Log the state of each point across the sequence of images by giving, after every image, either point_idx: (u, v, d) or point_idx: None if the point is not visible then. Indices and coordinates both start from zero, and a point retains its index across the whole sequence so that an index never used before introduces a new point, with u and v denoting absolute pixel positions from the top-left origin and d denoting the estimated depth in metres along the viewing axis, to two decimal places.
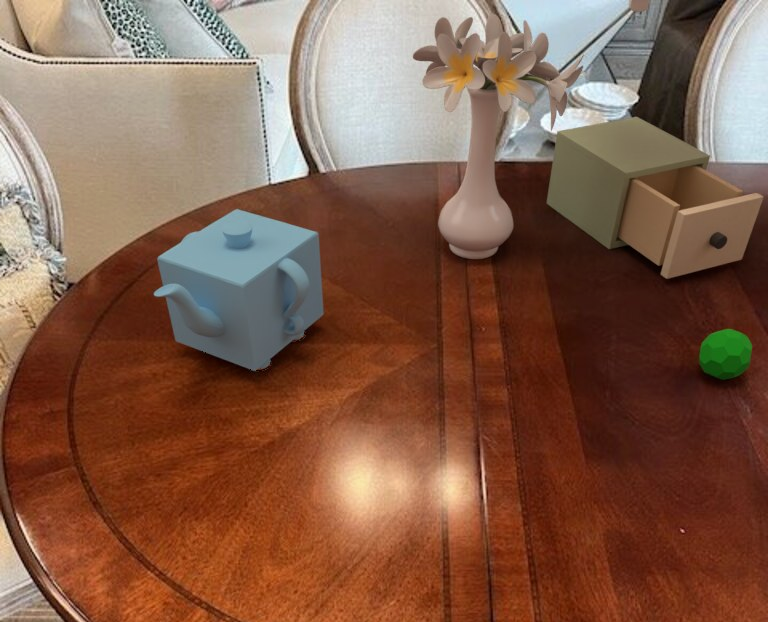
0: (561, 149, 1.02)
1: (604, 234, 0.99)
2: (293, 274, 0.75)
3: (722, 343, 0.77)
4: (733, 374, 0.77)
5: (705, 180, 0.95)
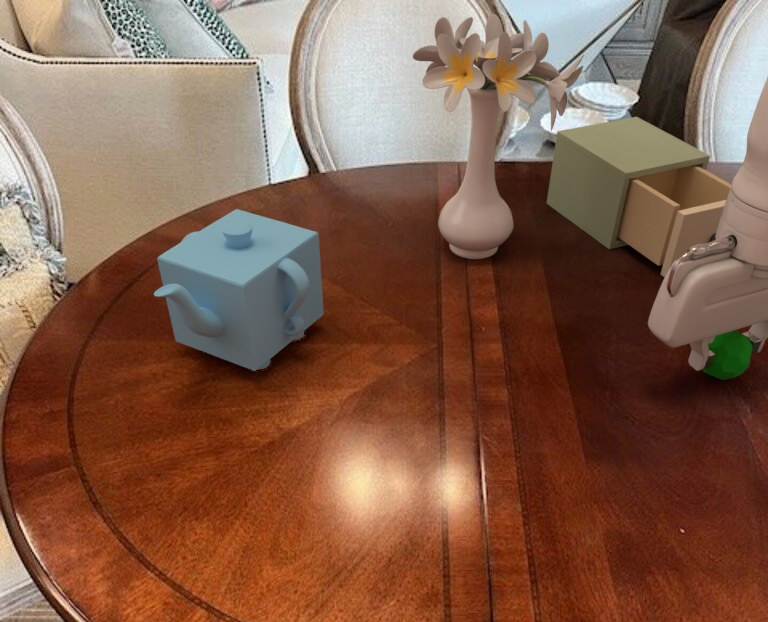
0: (561, 149, 1.02)
1: (604, 234, 0.99)
2: (293, 274, 0.75)
3: (722, 343, 0.77)
4: (733, 374, 0.77)
5: (705, 180, 0.95)
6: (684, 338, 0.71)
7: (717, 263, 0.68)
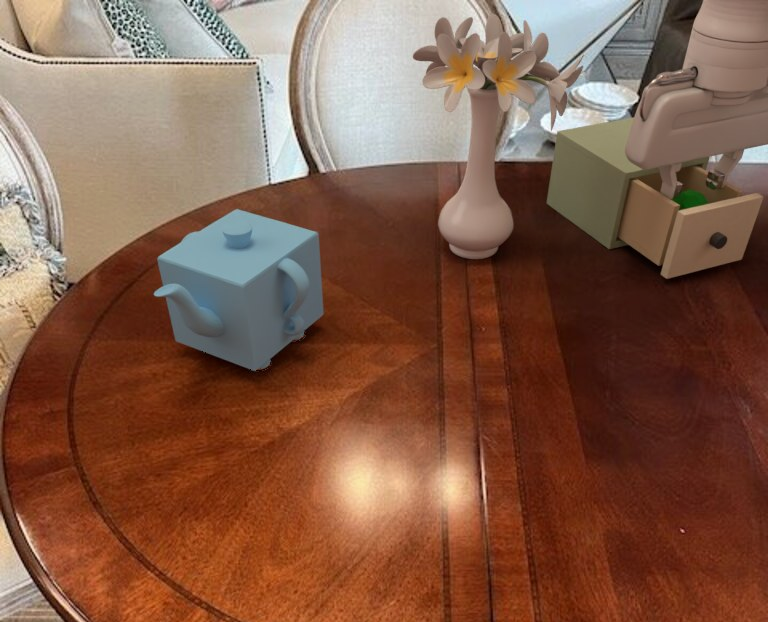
0: (561, 149, 1.02)
1: (604, 234, 0.99)
2: (293, 274, 0.75)
3: (681, 201, 0.92)
4: None
5: (705, 180, 0.95)
6: (655, 160, 0.84)
7: (681, 90, 0.81)
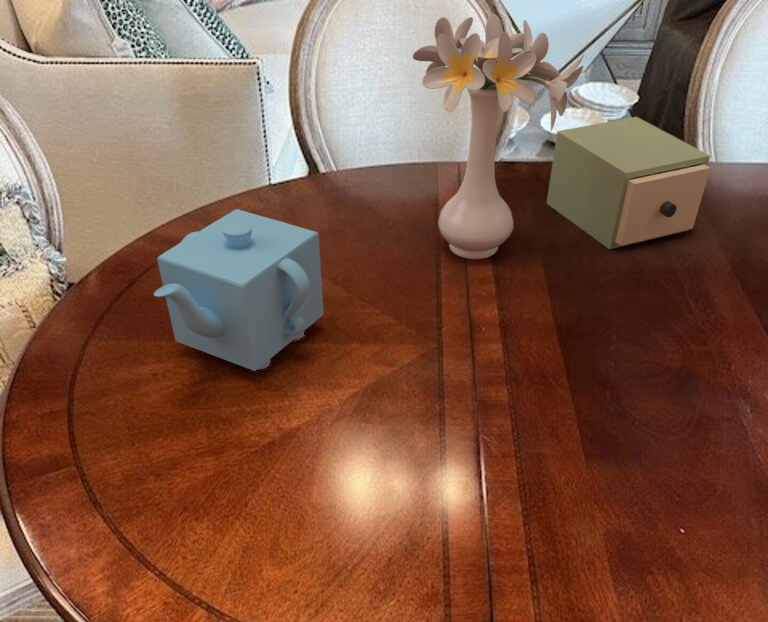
0: (561, 149, 1.02)
1: (604, 234, 0.99)
2: (293, 274, 0.75)
3: None
4: None
5: None
6: None
7: None
